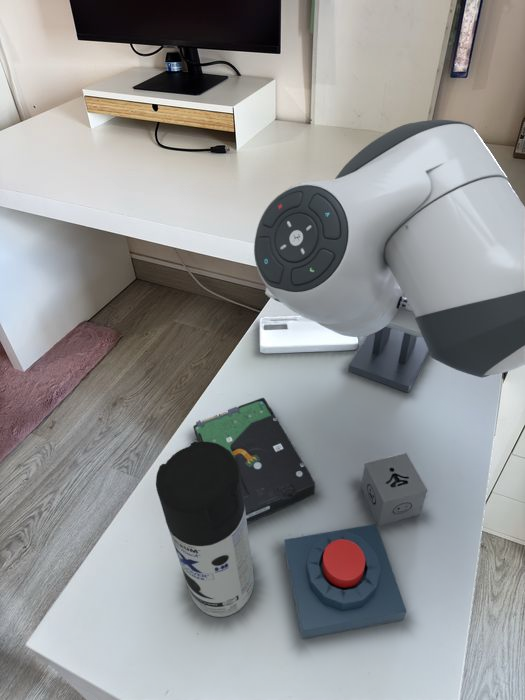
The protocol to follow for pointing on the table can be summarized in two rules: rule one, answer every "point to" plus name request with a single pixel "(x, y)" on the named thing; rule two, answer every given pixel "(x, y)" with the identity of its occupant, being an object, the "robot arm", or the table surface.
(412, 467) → the dice cube
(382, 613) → the button box
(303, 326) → the phone case
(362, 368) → the bracket
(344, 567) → the button
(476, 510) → the table surface
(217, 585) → the spray can
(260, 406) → the disk drive
